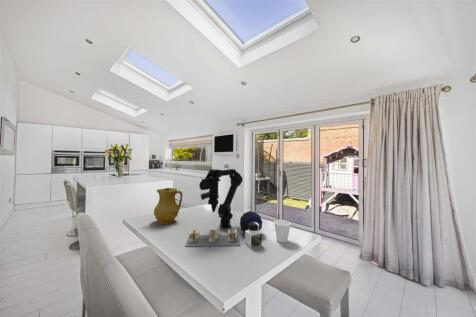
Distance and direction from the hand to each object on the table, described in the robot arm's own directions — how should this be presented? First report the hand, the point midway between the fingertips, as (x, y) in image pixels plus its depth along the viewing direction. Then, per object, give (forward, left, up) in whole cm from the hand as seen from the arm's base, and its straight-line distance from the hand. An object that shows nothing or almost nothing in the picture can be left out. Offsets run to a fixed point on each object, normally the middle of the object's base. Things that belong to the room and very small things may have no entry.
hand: (213, 211), depth 126 cm
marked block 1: (+16, +6, -12) cm, 21 cm away
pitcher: (+18, -36, -13) cm, 42 cm away
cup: (-26, +36, -13) cm, 46 cm away
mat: (+7, +12, -13) cm, 19 cm away
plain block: (+7, +12, -12) cm, 19 cm away
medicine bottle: (-9, +29, -13) cm, 33 cm away
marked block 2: (-2, +18, -12) cm, 22 cm away
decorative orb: (-18, +17, -13) cm, 28 cm away
